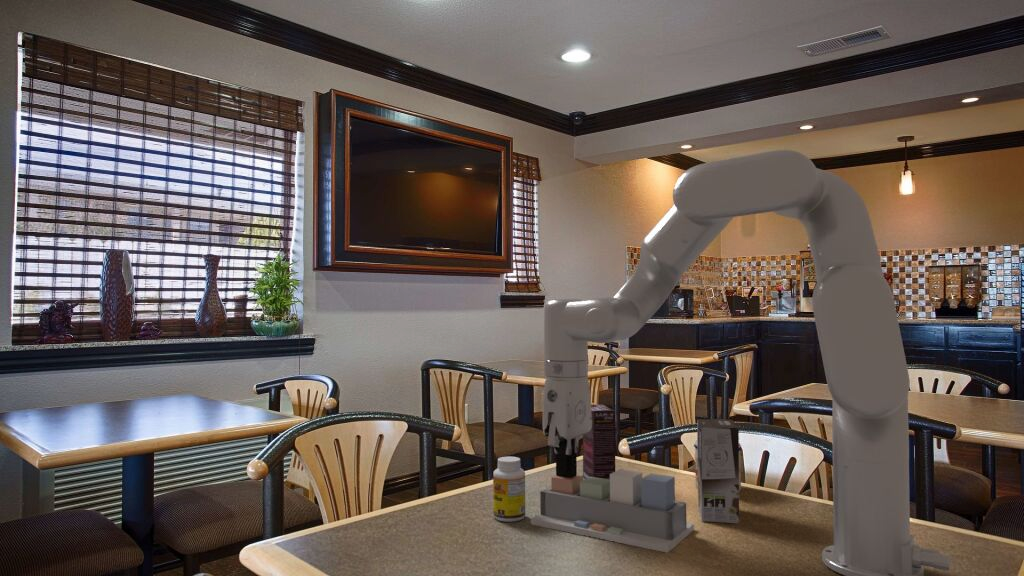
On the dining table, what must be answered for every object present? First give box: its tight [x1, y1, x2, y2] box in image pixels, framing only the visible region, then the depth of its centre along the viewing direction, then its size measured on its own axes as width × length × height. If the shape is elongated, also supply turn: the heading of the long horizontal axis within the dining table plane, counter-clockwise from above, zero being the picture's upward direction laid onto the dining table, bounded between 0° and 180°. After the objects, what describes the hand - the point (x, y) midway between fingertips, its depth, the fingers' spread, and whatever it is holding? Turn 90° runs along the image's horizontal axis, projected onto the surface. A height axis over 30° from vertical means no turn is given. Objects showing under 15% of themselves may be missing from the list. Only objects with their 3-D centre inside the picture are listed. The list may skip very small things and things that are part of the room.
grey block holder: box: [530, 485, 695, 554], centre depth 113 cm, size 24×12×5 cm, turn 57°
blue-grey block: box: [641, 473, 676, 511], centre depth 108 cm, size 4×4×5 cm
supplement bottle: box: [492, 456, 526, 523], centre depth 118 cm, size 6×6×10 cm
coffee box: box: [696, 418, 740, 524], centre depth 119 cm, size 9×6×16 cm
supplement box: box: [582, 404, 616, 480], centre depth 138 cm, size 9×5×16 cm, turn 9°
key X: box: [610, 468, 643, 505], centre depth 111 cm, size 4×4×5 cm
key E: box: [580, 477, 610, 500], centre depth 114 cm, size 4×4×5 cm
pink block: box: [551, 474, 583, 495], centre depth 117 cm, size 4×4×5 cm
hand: (566, 476), depth 118 cm, fingers closed
